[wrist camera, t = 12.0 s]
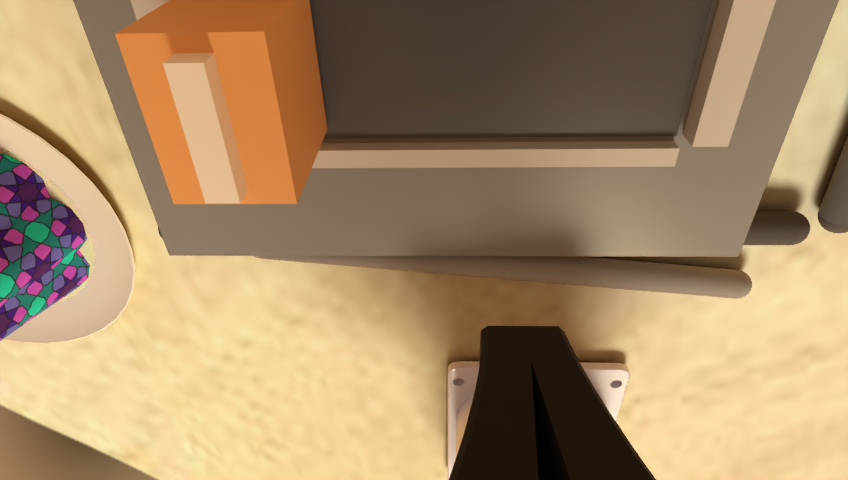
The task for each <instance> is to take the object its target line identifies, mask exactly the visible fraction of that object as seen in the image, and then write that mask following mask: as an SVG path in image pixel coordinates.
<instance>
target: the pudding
mask: <svg viewBox="0 0 848 480" xmlns="http://www.w3.org/2000/svg"><path fill="white" fill-rule="evenodd" d="M0 147H1V148H3V149H6V150H7V151H9V152H11V153H12V154H14V155H16V156H17V157H19V158H21V159H23V160H24V161H26V162H28V163H29V164H30V165H32V166H33V167H34V168H36V169H37V170H38V171H40V172H41V173H42V174H44V175H45V176H46V177H47V178H48V179H49V180H51V181H52V182H53V183H54V184H55V185H56V186H57V187H58V188H59V189H60V190H61V191H62V192H63V193H64V194H65V195H66V197H67V198H68V199H69V200H70V201H71V203H72V204H73V205H74V206H75V207H76V209H77V210H78V212H79V214H80V215H81V217H82V218H83V220H84V222H85V223H86V225H87V228H88V230H89V233H90V235H91V238H92V241H93V246H94V251H95V267H94V270H93V273H92V276H91V279H90V280H89V282H88V283H87V285H86V286H85V288H84V289H83V290H81V291H80V292H79V293H78V294H77V295H76V296H74V297H72V298H70V299H68V300H66V301H64V302H61V303H57V304H54V303H56V302H57V301H59V300H60V299H62V298H63V297H64V296H66V295H67V294H69V293H70V292H72V291H73V290H75V289H76V288H77V287H79V286H80V285H81V284H82V283H83V282H84V281H85V280H86V279H87V278H88V275H89V266H90V265H89V264H88V262H87V261H86V259H85V258H84V257H83V255H82V254H81V252H80V251H79V249H80V248H81V246H82V245H83V244H84V242H85V241H86V239H87V237H86V233H85V230H84V226H83V223H82V222H81V221H80V220H79V218H78V217H77V216H76V214H75V213H74V212H73V211H72V209H71V208H69V207H67V206H65V205H63V204H61V203H59V202H58V201H56V200H54V199H52V198H50V196H49V194H48V191H47V189H46V186H45V184H44V181H43V179H42V178H41V177H40V176H38V175H37V174H36V173H35V172H34V171H33V170H32V169H30V168H29V167H28V166H27V165H26V164H24V163H22V162H20V161H18V160H16V159H14V158H12V157H10V156H8V155H6V154H0V341H1V340H2V339H4V340H11V341H18V342H24V343H58V342H69V341H73V340H77V339H81V338H85V337H88V336H91V335H93V334H95V333H97V332H99V331H101V330H103V329H105V328H106V327H108V326H109V325H110V324H112V323H113V322H114V321H115V320H117V319H118V318H119V316H120V315H121V314H122V312H123V311H124V310H125V308H126V307H127V306H128V304H129V301H130V298H131V296H132V293H133V291H134V283H135V272H136V271H135V264H134V258H133V251H132V248H131V246H130V243H129V240H128V237H127V235H126V232H125V229H124V227H123V226H122V224H121V222H120V220H119V219H118V217H117V215H116V214H115V212H114V210H113V208H112V207H111V205H110V204H109V203H108V201H107V200H106V199H105V198H104V196H103V195H102V194H101V192H100V191H99V190H98V189H97V187H96V186H95V185H94V184H93V182H92V181H91V180H90V179H89V178H88V177H87V176H86V175H85V174H84V173H83V172H82V171H80V170H79V169H78V168H77V167H76V166H75V165H74V164H73V163H72V162H71V161H70V160H69V159H68V158H67V157H66V156H64V155H63V154H62V153H60V152H59V151H58V150H57V149H55V148H54V147H53V146H51V145H50V144H49V143H47V142H46V141H45V140H44V139H42V138H41V137H40V136H38V135H36V134H35V133H33V132H31V131H30V130H28V129H26V128H25V127H23V126H22V125H20V124H18V123H17V122H15V121H13V120H12V119H10V118H8V117H6V116H4V115H2V114H0Z"/></svg>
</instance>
